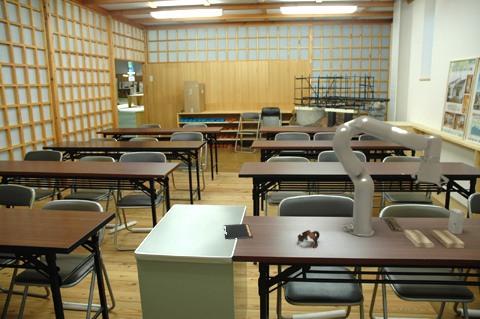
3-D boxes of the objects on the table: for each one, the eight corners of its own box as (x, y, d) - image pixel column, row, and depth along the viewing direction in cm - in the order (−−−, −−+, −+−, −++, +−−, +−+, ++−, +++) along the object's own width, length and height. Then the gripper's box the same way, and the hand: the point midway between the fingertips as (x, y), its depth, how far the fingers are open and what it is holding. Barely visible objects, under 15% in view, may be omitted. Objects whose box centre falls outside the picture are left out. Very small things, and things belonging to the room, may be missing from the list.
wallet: (223, 223, 204) (249, 222, 205) (223, 226, 205) (249, 225, 206) (224, 237, 185) (253, 236, 186) (224, 240, 185) (253, 239, 186)
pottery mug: (310, 251, 171) (302, 236, 171) (299, 252, 179) (292, 238, 180) (327, 239, 177) (319, 225, 177) (315, 241, 185) (308, 227, 186)
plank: (417, 247, 172) (417, 242, 172) (404, 234, 188) (404, 230, 188) (434, 247, 172) (434, 243, 171) (420, 234, 188) (420, 230, 187)
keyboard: (404, 233, 191) (405, 230, 190) (387, 232, 192) (387, 229, 192) (394, 219, 212) (395, 215, 211) (379, 218, 213) (379, 215, 213)
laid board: (445, 247, 172) (445, 242, 171) (429, 234, 187) (430, 230, 187) (464, 248, 171) (464, 243, 170) (447, 234, 187) (447, 230, 186)
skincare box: (447, 229, 193) (449, 208, 191) (455, 229, 193) (457, 208, 191) (454, 234, 187) (456, 212, 185) (462, 234, 187) (465, 212, 185)
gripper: (410, 158, 179) (407, 190, 183) (449, 163, 168) (444, 197, 172) (415, 156, 185) (411, 187, 188) (452, 160, 174) (448, 194, 177)
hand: (427, 192), depth 180 cm, fingers open, 9 cm apart
